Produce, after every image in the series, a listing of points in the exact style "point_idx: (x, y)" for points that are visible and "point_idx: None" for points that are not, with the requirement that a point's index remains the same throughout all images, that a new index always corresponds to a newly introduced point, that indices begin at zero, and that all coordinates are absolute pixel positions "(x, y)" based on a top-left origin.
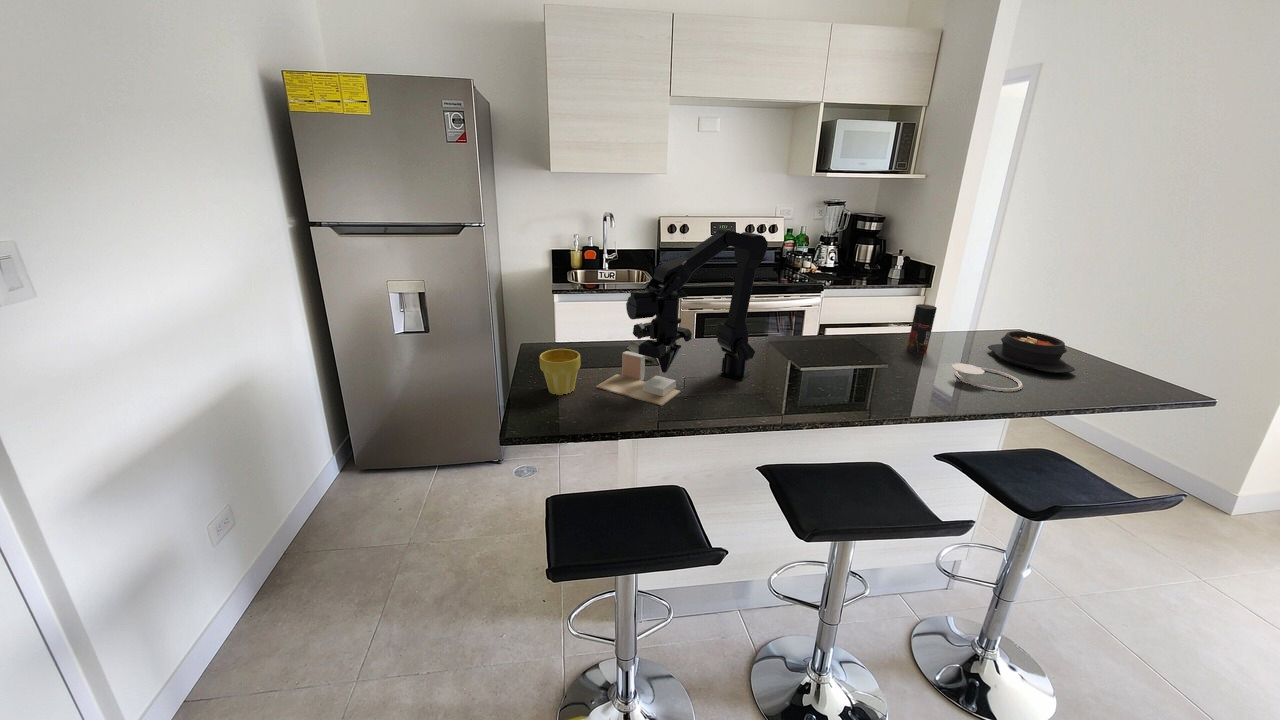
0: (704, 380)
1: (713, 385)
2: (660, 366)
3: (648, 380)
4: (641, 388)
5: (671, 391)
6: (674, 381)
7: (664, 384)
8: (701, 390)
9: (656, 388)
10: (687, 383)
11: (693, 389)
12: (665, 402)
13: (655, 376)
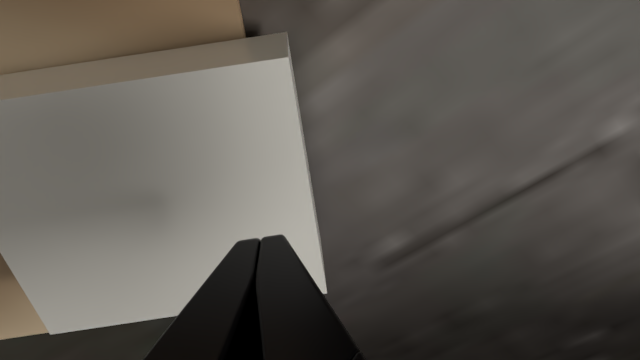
0: (627, 277)
1: (561, 354)
2: (193, 298)
3: (67, 92)
4: (20, 9)
5: None
6: None
7: (150, 282)
8: (432, 350)
9: (20, 269)
10: (499, 227)
11: (413, 312)
12: (38, 331)
13: (253, 73)
